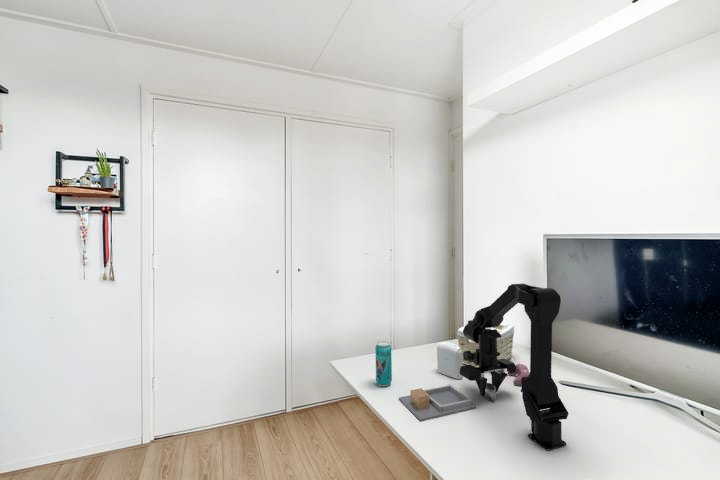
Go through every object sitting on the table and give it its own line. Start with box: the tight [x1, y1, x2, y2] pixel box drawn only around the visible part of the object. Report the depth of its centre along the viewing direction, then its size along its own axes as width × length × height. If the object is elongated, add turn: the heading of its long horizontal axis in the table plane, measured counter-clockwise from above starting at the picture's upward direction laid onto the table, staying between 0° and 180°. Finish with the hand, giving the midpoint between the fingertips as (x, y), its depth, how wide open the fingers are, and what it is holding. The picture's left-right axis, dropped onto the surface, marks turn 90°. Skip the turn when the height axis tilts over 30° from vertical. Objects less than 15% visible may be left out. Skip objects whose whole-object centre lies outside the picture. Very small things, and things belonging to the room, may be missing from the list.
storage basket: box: [456, 322, 515, 368], centre depth 142 cm, size 24×16×15 cm
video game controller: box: [507, 362, 530, 386], centre depth 123 cm, size 10×5×7 cm, turn 169°
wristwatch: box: [484, 382, 497, 402], centre depth 110 cm, size 4×6×5 cm, turn 16°
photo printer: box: [436, 341, 464, 380], centre depth 129 cm, size 10×4×12 cm, turn 39°
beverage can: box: [375, 340, 393, 387], centre depth 122 cm, size 6×6×15 cm
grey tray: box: [398, 384, 477, 422], centre depth 107 cm, size 14×20×5 cm
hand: (488, 394), depth 110 cm, fingers open, 4 cm apart
